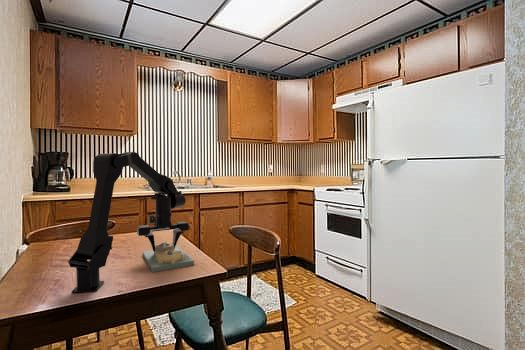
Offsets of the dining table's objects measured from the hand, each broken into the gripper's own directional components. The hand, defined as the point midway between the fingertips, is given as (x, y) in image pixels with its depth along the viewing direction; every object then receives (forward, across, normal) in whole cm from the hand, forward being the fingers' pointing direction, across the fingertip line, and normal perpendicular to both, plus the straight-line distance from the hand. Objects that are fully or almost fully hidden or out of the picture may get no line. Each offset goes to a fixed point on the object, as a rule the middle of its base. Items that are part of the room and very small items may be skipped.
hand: (164, 250), depth 113 cm
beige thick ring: (+1, 0, 0) cm, 1 cm away
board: (+2, 0, +4) cm, 5 cm away
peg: (+1, 0, 0) cm, 1 cm away
